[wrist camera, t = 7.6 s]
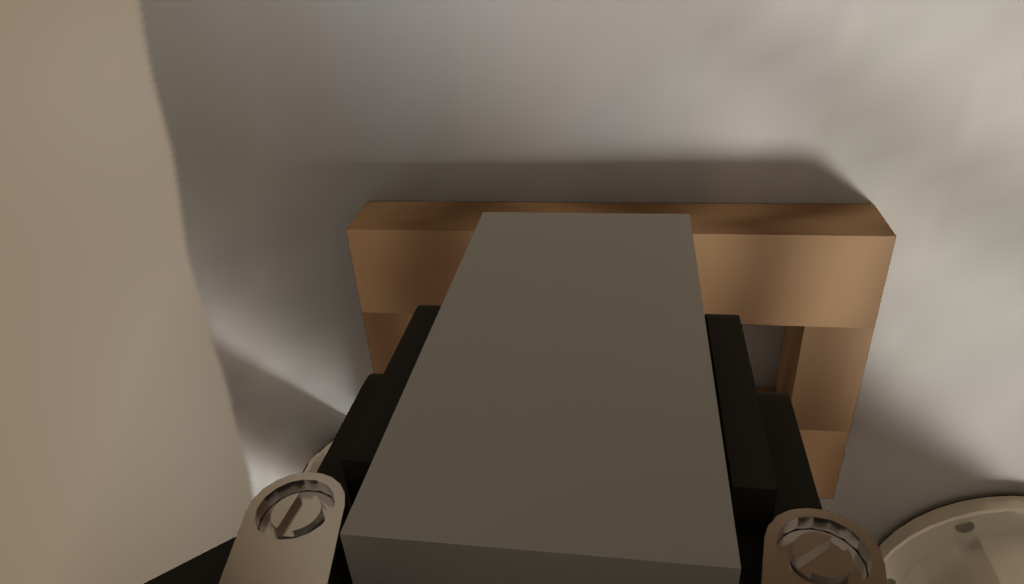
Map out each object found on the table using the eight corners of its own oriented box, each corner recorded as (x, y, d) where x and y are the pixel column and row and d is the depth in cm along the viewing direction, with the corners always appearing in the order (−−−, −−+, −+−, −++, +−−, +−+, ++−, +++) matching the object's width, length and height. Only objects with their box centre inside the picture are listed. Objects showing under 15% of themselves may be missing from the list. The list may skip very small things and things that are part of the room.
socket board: (873, 204, 30) (909, 254, 26) (819, 454, 37) (840, 523, 33) (368, 201, 33) (333, 245, 29) (408, 430, 40) (384, 490, 36)
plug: (690, 214, 13) (741, 568, 7) (677, 381, 16) (706, 783, 9) (483, 212, 14) (339, 533, 7) (497, 373, 16) (395, 741, 9)
